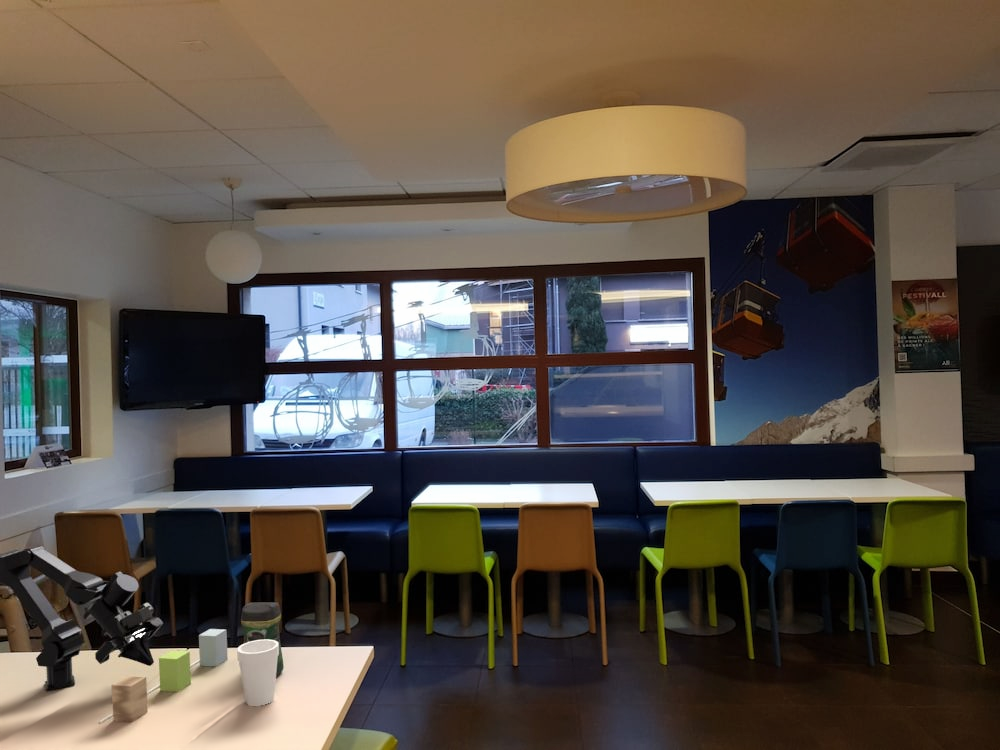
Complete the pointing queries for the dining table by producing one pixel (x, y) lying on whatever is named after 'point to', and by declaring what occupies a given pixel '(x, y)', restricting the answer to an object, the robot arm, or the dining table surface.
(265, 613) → the coffee jar
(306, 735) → the dining table surface
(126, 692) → the brown wooden block
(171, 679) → the green block
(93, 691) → the dining table surface
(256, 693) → the foam cup
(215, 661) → the blue-grey block
